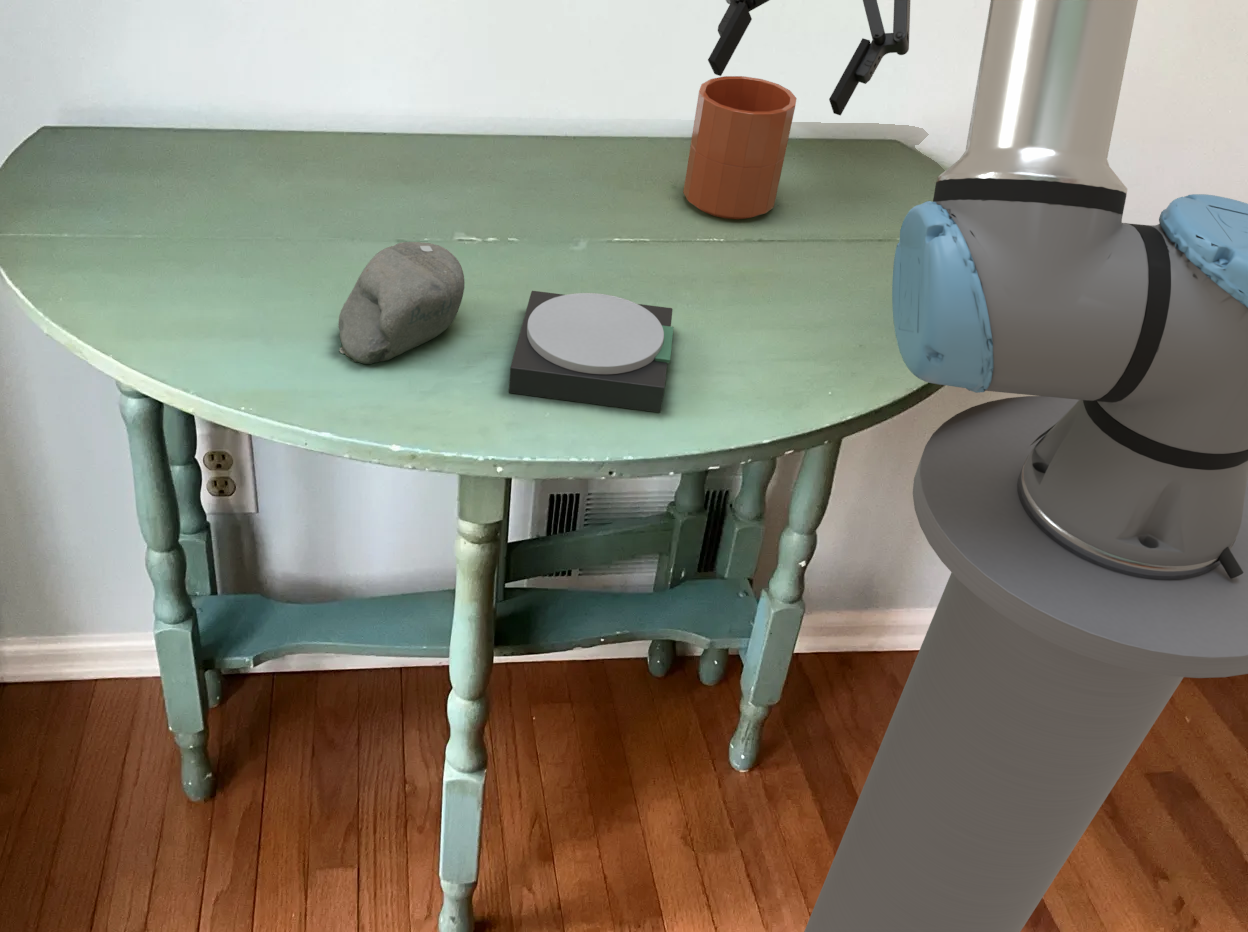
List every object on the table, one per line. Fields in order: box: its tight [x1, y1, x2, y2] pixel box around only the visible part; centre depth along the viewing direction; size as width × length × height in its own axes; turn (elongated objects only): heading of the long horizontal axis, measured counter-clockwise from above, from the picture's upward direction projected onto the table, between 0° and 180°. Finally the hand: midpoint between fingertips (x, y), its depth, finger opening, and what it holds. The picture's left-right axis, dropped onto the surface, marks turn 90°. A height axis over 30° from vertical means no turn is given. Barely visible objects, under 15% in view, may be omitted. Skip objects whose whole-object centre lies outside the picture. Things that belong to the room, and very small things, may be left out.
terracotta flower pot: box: [682, 75, 797, 220], centre depth 117 cm, size 9×9×11 cm
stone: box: [337, 241, 465, 365], centre depth 98 cm, size 9×9×10 cm
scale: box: [508, 290, 674, 413], centre depth 96 cm, size 12×12×3 cm
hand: (772, 87), depth 117 cm, fingers open, 13 cm apart
